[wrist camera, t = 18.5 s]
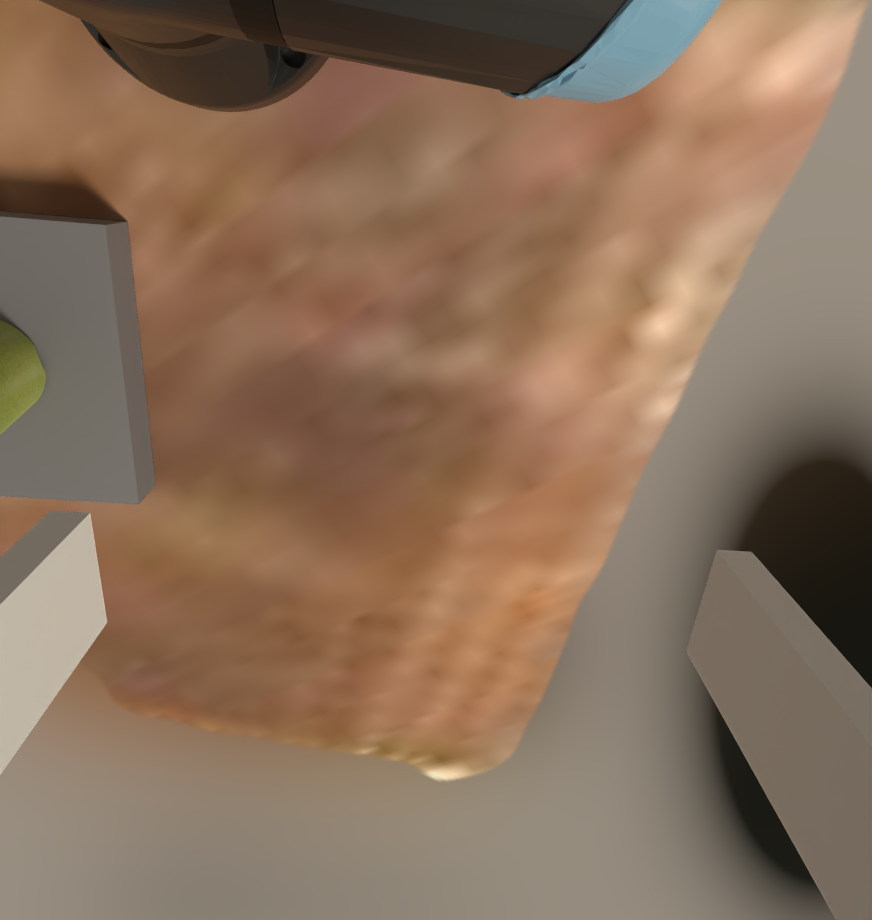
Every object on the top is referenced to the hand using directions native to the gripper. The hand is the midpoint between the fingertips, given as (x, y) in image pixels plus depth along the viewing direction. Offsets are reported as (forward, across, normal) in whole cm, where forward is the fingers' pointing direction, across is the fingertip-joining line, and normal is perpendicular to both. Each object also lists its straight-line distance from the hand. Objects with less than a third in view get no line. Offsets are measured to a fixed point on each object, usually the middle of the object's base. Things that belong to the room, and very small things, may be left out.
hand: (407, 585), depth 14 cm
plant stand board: (+31, -26, -5) cm, 41 cm away
